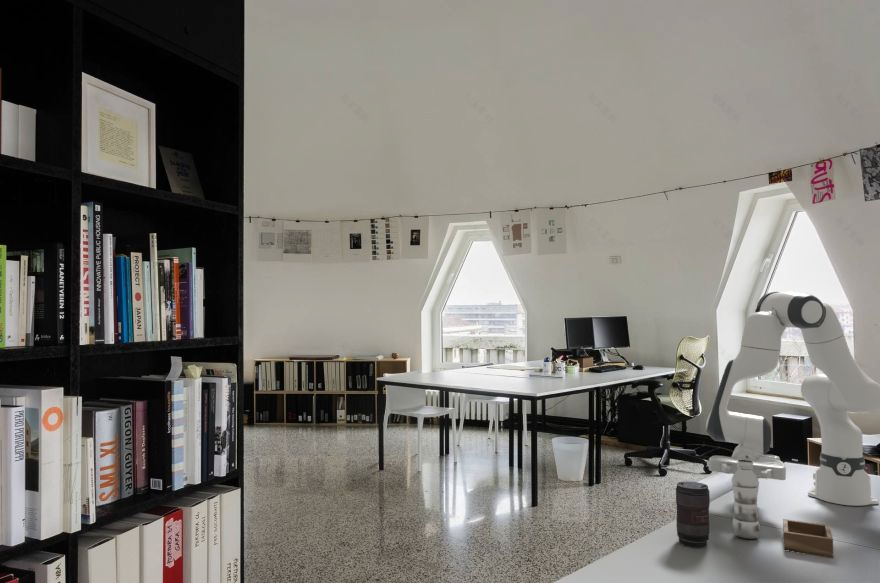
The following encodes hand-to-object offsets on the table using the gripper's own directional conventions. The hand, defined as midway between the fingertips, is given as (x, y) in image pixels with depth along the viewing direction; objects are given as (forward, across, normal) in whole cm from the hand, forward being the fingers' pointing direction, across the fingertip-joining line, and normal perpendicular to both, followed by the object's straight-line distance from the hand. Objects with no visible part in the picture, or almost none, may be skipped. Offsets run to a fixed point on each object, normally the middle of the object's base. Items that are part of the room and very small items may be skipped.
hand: (745, 473), depth 181 cm
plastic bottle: (+12, +1, +14) cm, 19 cm away
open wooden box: (+12, +15, +14) cm, 23 cm away
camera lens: (+23, -11, +15) cm, 30 cm away
